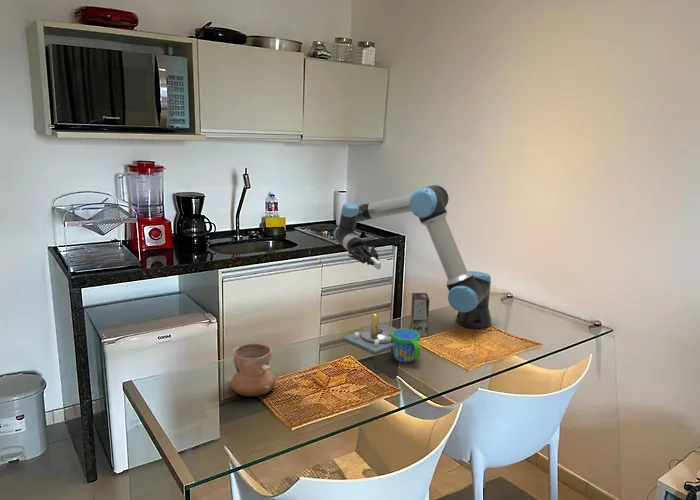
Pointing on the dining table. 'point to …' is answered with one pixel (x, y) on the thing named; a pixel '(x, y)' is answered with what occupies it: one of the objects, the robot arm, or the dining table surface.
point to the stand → (366, 345)
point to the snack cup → (405, 344)
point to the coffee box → (420, 313)
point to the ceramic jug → (252, 370)
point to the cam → (376, 331)
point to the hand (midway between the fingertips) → (379, 266)
